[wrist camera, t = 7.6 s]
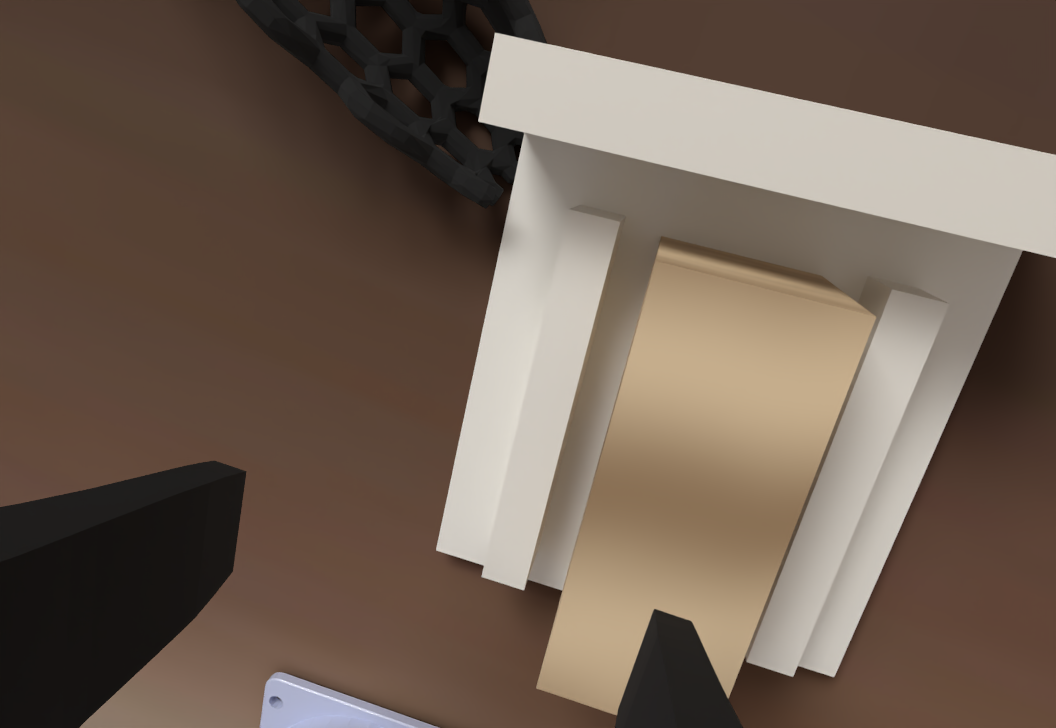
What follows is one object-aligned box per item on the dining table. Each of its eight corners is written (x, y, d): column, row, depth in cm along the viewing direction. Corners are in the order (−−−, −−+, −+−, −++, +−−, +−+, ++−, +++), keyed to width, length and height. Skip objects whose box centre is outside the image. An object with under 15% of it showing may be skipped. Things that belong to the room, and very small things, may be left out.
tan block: (702, 612, 20) (709, 747, 16) (567, 570, 21) (535, 688, 16) (821, 275, 17) (877, 316, 13) (661, 235, 18) (655, 260, 13)
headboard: (828, 658, 21) (875, 810, 16) (444, 537, 22) (378, 641, 17) (1036, 178, 17) (1189, 184, 12) (544, 69, 18) (495, 32, 13)
